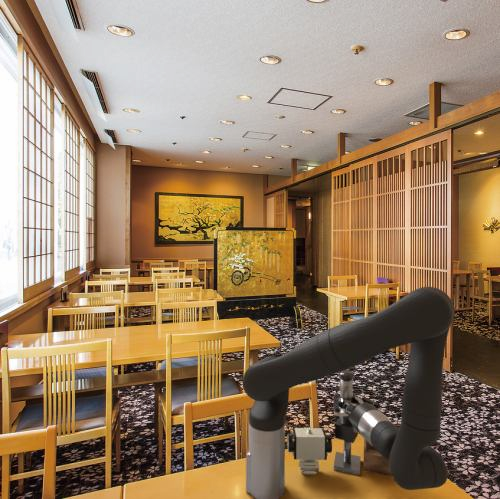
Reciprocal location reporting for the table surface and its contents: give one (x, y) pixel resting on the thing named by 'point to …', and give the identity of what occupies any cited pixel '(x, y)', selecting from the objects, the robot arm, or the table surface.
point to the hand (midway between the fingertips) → (341, 396)
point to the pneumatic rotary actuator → (309, 447)
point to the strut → (343, 425)
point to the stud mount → (347, 461)
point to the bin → (375, 461)
